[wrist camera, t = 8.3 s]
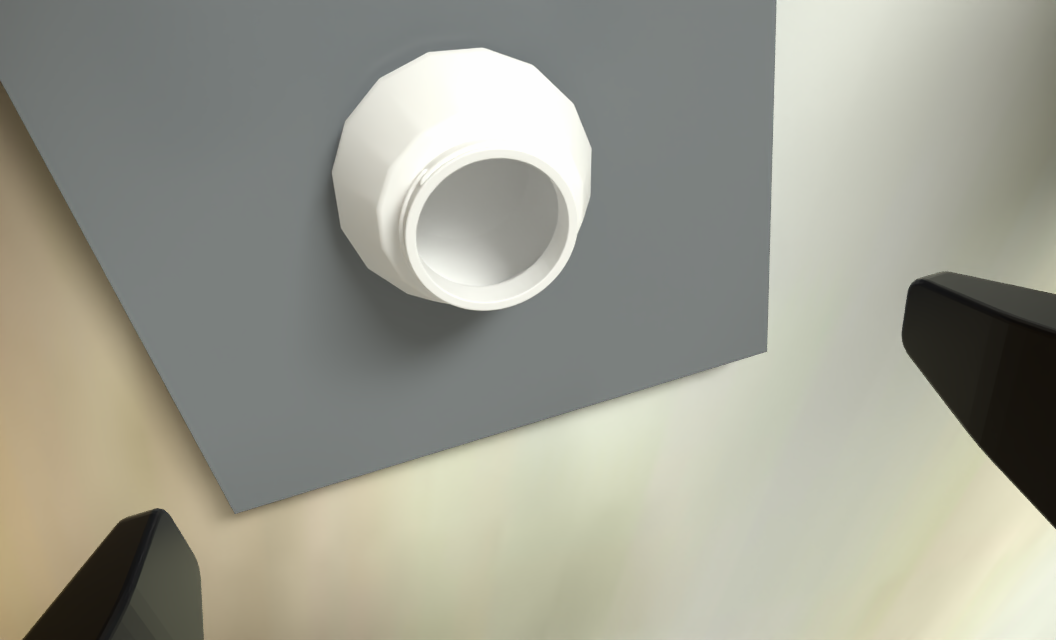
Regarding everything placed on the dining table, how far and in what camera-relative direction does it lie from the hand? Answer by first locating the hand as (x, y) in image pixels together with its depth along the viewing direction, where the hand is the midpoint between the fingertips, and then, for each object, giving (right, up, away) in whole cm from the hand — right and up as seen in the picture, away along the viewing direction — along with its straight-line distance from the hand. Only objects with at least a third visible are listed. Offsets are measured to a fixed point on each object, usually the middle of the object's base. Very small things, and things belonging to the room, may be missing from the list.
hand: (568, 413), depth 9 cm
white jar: (-2, +4, +7) cm, 8 cm away
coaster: (-2, +5, +7) cm, 9 cm away
